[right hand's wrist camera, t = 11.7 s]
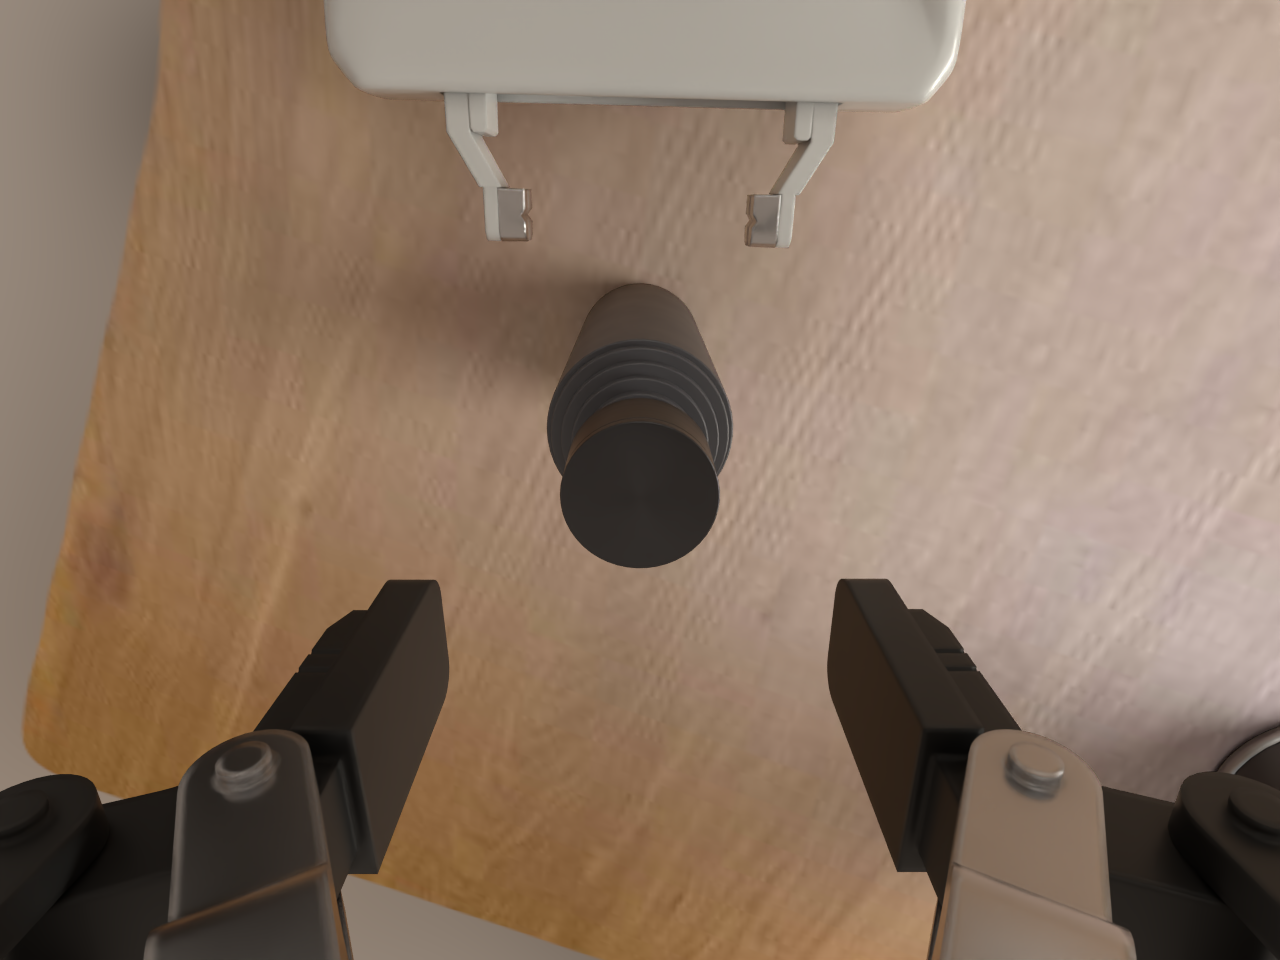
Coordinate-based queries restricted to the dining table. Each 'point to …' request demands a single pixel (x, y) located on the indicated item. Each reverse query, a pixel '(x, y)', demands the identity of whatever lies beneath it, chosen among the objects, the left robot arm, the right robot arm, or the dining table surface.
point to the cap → (639, 484)
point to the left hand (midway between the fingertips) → (638, 243)
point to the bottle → (639, 368)
